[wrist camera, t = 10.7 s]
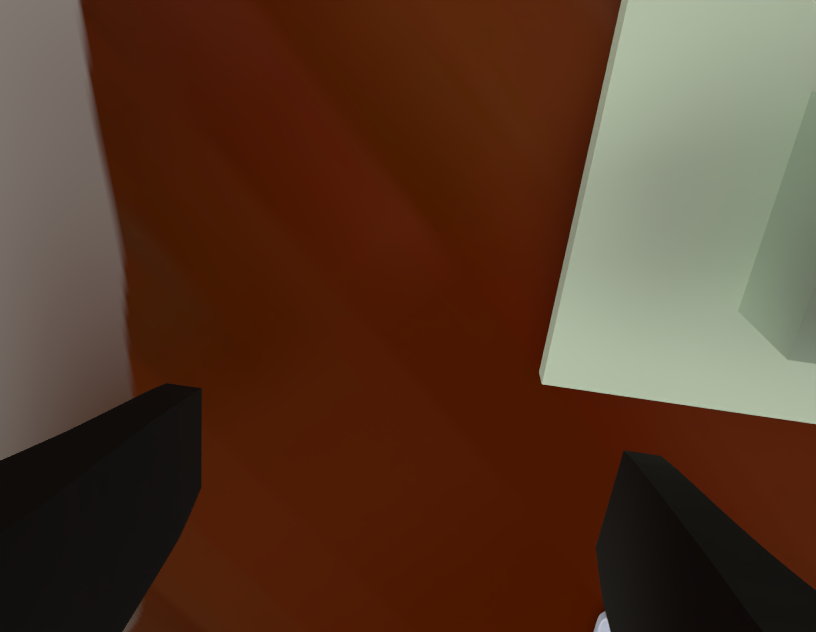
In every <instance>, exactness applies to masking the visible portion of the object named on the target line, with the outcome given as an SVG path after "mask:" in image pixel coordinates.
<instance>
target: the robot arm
mask: <svg viewBox="0 0 816 632" xmlns="http://www.w3.org/2000/svg"><path fill="white" fill-rule="evenodd" d="M201 406H202V388H195V387H188V386H181V385H175V384H168V383H166V384H164V385H161V386H159V387H156V388H154V389H152V390H150V391H148V392H145V393H143V394H141V395H139V396H137V397H135V398H133V399H131V400H129V401H127V402H125V403H124V404H121V405H119V406H117V407H115V408H113V409H111V410H109V411H107V412H105V413H103V414H101V415H99V416H97V417H95V418H93V419H91V420H89V421H87V422H85V423H83V424H81V425H79V426H77V427H75V428H73V429H71V430H68V431H66V432H64V433H62V434H60V435H58V436H55V437H53V438H51V439H48V440H46V441H44V442H42V443H39V444H37V445H35V446H33V447H30V448H28V449H26V450H24V451H21V452H19V453H17V454H15V455H12V456H10V457H8V458H6V459H3V460H0V632H122V631H123V630H124V628H125V627H126V625H127V623H128V622H129V620H130V618H131V617H132V615H133V614H134V612H135V610H136V609H137V607H138V605H139V604H140V602H141V600H142V599H143V597H144V596H145V594H146V592H147V591H148V589H149V587H150V586H151V584H152V583H153V581H154V579H155V578H156V576H157V574H158V573H159V571H160V569H161V568H162V566H163V564H164V563H165V561H166V559H167V558H168V556H169V554H170V553H171V551H172V549H173V548H174V546H175V544H176V543H177V541H178V539H179V537H180V535H181V533H182V531H183V528H184V526H185V524H186V522H187V520H188V517H189V515H190V513H191V510H192V508H193V506H194V503H195V501H196V499H197V496H198V494H199V491H200V489H201ZM596 551H597V560H598V568H599V577H600V584H601V591H602V598H603V604H604V608H605V611H604V612H603V613H601V614H600V615H599V617H598V620H597V623H596V626H595V629H594V632H816V590H815V589H813V588H812V587H811V586H809V585H808V584H807V583H806V582H804V581H803V580H802V579H801V578H799V577H798V576H797V575H796V574H795V573H793V572H792V571H791V570H790V569H788V568H787V567H786V566H785V565H784V564H782V563H781V562H780V561H779V560H777V559H776V558H775V557H774V556H773V555H771V554H770V553H769V552H768V551H767V550H766V549H764V548H763V547H762V546H761V545H760V544H759V543H757V542H756V541H755V540H754V539H753V538H752V537H751V536H749V535H748V534H747V533H746V532H745V531H744V530H743V529H742V528H740V527H739V526H738V525H737V524H736V523H735V522H734V521H733V520H732V519H730V518H729V517H728V516H727V515H726V514H725V513H724V512H723V511H722V510H721V509H719V508H718V507H717V506H716V505H715V504H714V503H713V502H712V501H711V500H710V499H709V498H708V497H706V496H705V495H704V494H703V493H702V492H701V491H700V490H699V489H698V488H697V487H696V486H695V485H694V484H692V483H691V482H690V481H689V480H688V479H687V478H686V477H685V476H684V475H683V474H681V473H680V472H679V471H678V470H677V469H676V468H675V467H674V466H672V465H671V464H670V463H669V462H668V461H666V460H665V459H664V458H663V457H661V456H657V455H651V454H644V453H637V452H630V451H624V452H623V455H622V459H621V462H620V466H619V469H618V473H617V476H616V480H615V483H614V487H613V490H612V494H611V497H610V500H609V504H608V507H607V511H606V514H605V518H604V521H603V525H602V528H601V532H600V535H599V539H598V542H597V545H596Z"/></svg>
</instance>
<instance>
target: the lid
mask: <svg viewBox="0 0 816 632" xmlns="http://www.w3.org/2000/svg"><path fill="white" fill-rule="evenodd" d="M539 374H540V378H541V383H542V384H544V385H551V386H558V387H565V388H572V389H579V390H586V391H593V392H599V393H606V394H613V395H620V396H627V397H634V398H641V399H648V400H654V401H661V402H668V403H675V404H682V405H689V406H696V407H703V408H709V409H716V410H723V411H730V412H737V413H744V414H751V415H758V416H764V417H771V418H778V419H785V420H792V421H799V422H806V423H812V424H816V0H622V1H621V6H620V10H619V15H618V19H617V24H616V28H615V33H614V37H613V42H612V46H611V51H610V55H609V60H608V64H607V69H606V73H605V78H604V82H603V87H602V91H601V96H600V100H599V105H598V109H597V114H596V118H595V123H594V127H593V132H592V136H591V141H590V145H589V150H588V154H587V159H586V163H585V168H584V172H583V177H582V181H581V186H580V190H579V195H578V199H577V204H576V208H575V213H574V217H573V222H572V226H571V231H570V235H569V240H568V244H567V249H566V253H565V258H564V262H563V267H562V272H561V276H560V281H559V285H558V290H557V294H556V299H555V303H554V308H553V312H552V317H551V321H550V326H549V330H548V335H547V339H546V344H545V348H544V353H543V357H542V362H541V366H540V371H539Z"/></svg>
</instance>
